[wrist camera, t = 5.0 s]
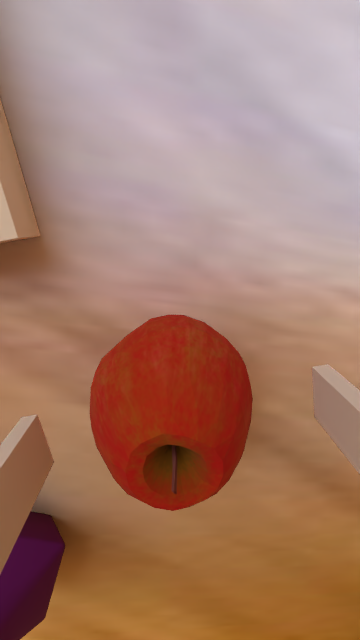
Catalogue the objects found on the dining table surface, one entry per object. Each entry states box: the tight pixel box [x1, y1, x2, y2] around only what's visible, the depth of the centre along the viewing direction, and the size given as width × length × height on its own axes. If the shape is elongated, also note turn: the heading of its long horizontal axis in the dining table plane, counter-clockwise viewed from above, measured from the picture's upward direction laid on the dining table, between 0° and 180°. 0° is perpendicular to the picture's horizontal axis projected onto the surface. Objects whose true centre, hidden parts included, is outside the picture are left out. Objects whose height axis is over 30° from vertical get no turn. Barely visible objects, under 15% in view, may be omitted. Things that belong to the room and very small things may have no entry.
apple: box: [90, 315, 253, 511], centre depth 15 cm, size 8×8×11 cm
